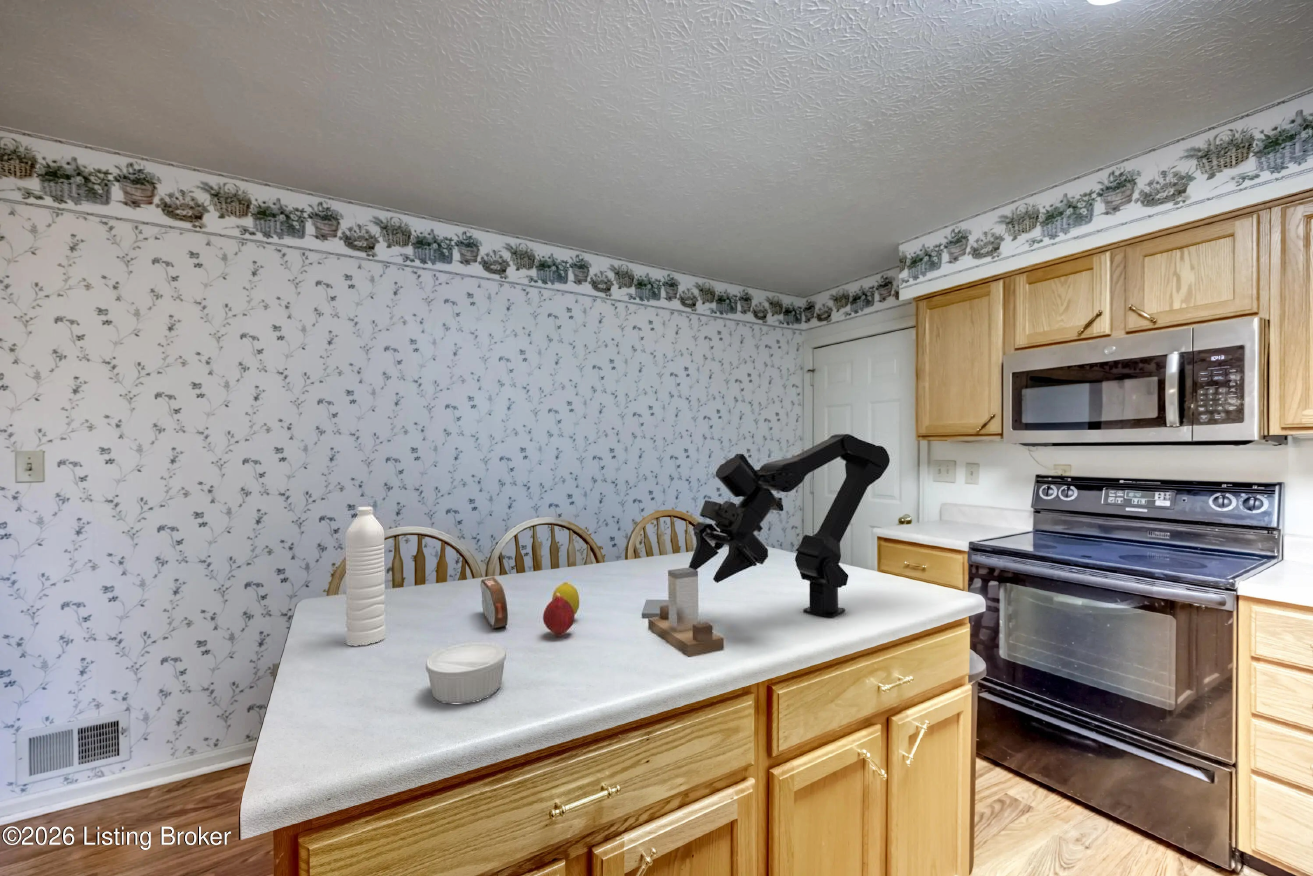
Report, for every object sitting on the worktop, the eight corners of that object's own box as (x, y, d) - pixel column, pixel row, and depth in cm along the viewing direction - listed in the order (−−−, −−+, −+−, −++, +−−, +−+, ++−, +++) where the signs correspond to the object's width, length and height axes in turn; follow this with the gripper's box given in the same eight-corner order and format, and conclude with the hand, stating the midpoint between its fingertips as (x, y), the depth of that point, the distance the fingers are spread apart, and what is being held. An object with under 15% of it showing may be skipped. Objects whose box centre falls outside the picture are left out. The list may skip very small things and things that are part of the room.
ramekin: (426, 716, 75) (426, 676, 75) (425, 683, 85) (425, 648, 85) (512, 699, 79) (511, 662, 79) (500, 670, 89) (500, 637, 89)
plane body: (647, 628, 108) (647, 605, 108) (679, 622, 111) (679, 600, 111) (688, 656, 93) (688, 629, 94) (723, 649, 97) (723, 623, 97)
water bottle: (346, 638, 105) (345, 506, 105) (384, 632, 108) (383, 503, 108) (345, 653, 97) (344, 510, 98) (387, 646, 100) (385, 508, 101)
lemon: (582, 617, 116) (581, 578, 116) (575, 626, 110) (575, 585, 110) (556, 617, 116) (555, 578, 116) (548, 625, 111) (548, 585, 111)
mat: (690, 604, 124) (690, 599, 124) (690, 618, 114) (690, 613, 114) (646, 604, 125) (646, 599, 125) (641, 618, 115) (641, 613, 115)
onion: (580, 632, 106) (579, 590, 107) (565, 642, 101) (565, 598, 101) (553, 629, 108) (552, 588, 108) (537, 639, 103) (537, 596, 103)
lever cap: (690, 623, 105) (689, 567, 105) (698, 628, 102) (697, 570, 102) (668, 627, 103) (668, 570, 103) (677, 632, 100) (676, 573, 100)
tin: (509, 631, 108) (508, 588, 108) (492, 634, 106) (492, 590, 106) (494, 611, 121) (493, 572, 121) (479, 613, 120) (478, 574, 120)
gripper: (700, 482, 115) (652, 540, 110) (754, 488, 98) (700, 557, 93) (732, 518, 118) (687, 575, 113) (789, 529, 102) (740, 598, 97)
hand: (701, 575), depth 104 cm, fingers open, 9 cm apart
